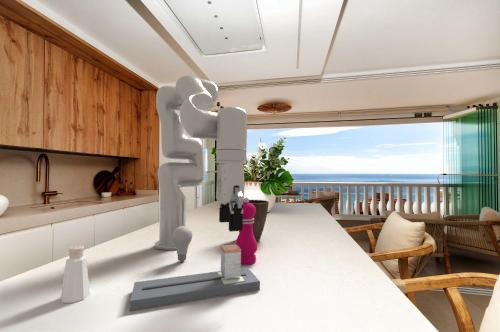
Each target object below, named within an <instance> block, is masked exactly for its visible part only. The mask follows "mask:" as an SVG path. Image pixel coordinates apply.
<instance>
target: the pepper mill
mask: <svg viewBox="0 0 500 332" xmlns="http://www.w3.org/2000/svg"><path fill="white" fill-rule="evenodd" d="M249 200H250V198H248V197H244V203H243V206H244V207H243V228H242V231H240V232H239V231H238V236H237V238H236V240H235V242H234V244H236V245H237V246H238V247H240V248H241V265H245V266H246V265H247V266H248V265H253V264H255V263H256V262H257V255H256V253H257V251H258V241H257V242H256V239H255V237H254V234H253V230H252V226H253V223H254V218H253V216H254V215H255V213H256V209H255V206H254V205H253V204H251V203H248V202H249Z"/></svg>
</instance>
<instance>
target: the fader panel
mask: <svg viewBox="0 0 500 332" xmlns="http://www.w3.org/2000/svg"><path fill="white" fill-rule="evenodd" d="M260 286H261V281H260V280H259V278H257V276H256V275H255V274H254V273H253V272H252V271H251V269H250V268H248V267H241V277H238V278H231V279H224V278H223V276H222V274H221V270H218V271H211V272H203V273H196V274H187V275H179V276H173V277H164V278H163V277H162V278H156V279H150V280H140V281H134V283H133V288H132V291H131V296H130V301H129V312H131V311H133V312H134V311H139V310H140V311H141V310H144V309H150V308H157V307H163V306H169V305H175V304H181V303H187V302H192V301H198V300H205V299H211V298H216V297H223V296H229V295H235V294H242V293H247V292H253V291H254V292H255V291H259V290H261V289H260V288H261V287H260Z"/></svg>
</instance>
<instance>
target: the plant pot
mask: <svg viewBox="0 0 500 332" xmlns="http://www.w3.org/2000/svg"><path fill="white" fill-rule="evenodd" d="M243 203H244V201H243ZM248 203H251V204H253V205H254V206H255V209H256V213H255V215H254V216H253V218H254V223H253V226H252V230H253V234H254V237H255V239H256V242H257V243H258V242H260V240H261V237H262V236H263V232H264V228H265V225H266V220H267V216H268V210H269V205H270V203H269V200H262V199H249V202H248ZM239 232H240V231H238V233H239Z"/></svg>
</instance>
